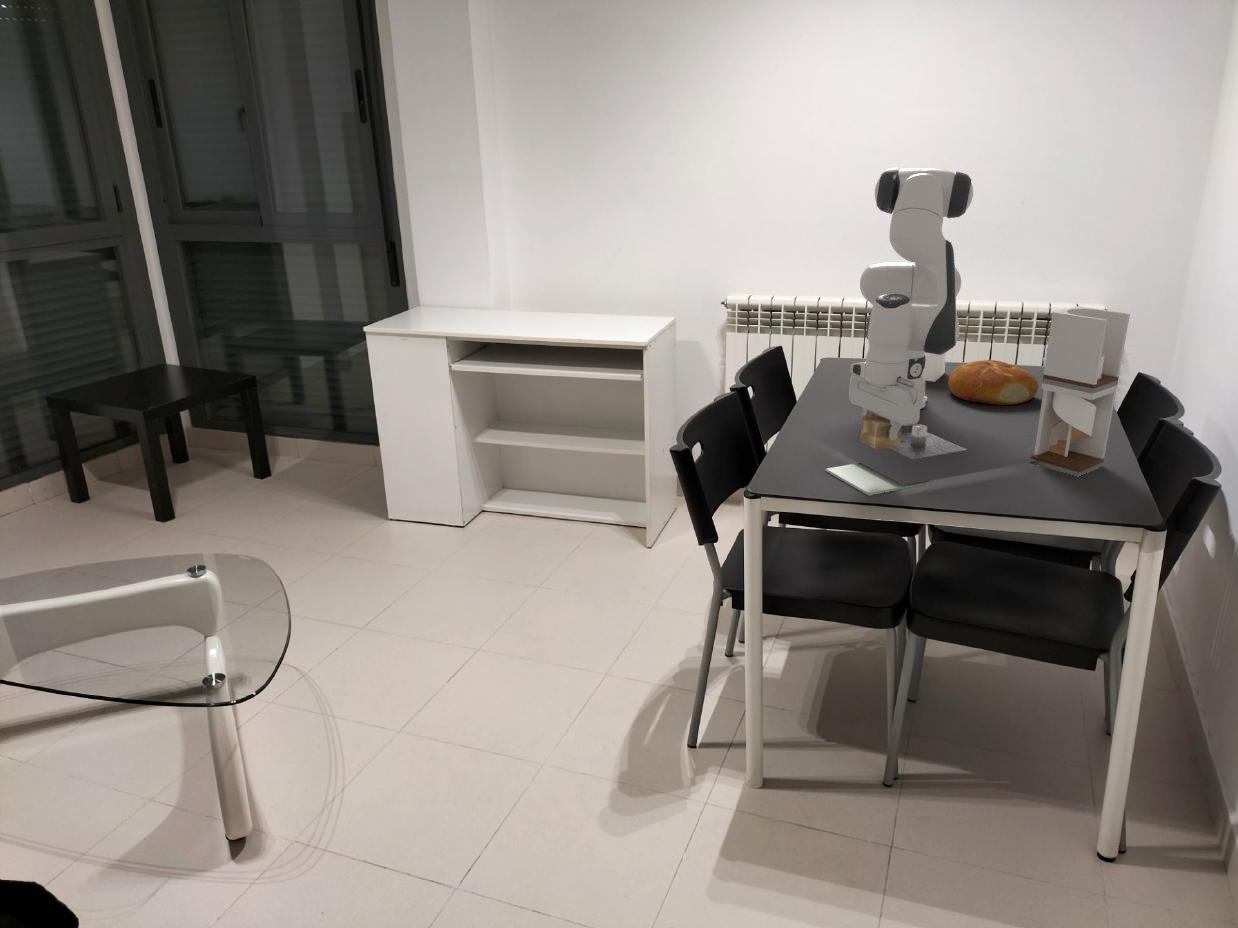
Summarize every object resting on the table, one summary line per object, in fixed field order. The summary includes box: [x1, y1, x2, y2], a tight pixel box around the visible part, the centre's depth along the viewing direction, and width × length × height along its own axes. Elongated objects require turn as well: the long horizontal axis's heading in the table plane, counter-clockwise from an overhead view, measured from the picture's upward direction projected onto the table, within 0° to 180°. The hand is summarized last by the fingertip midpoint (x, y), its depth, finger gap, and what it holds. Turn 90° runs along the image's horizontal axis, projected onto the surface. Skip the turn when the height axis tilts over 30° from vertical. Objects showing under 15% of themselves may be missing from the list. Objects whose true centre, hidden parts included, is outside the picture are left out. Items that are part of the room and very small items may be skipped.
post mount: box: [889, 423, 968, 460], centre depth 220 cm, size 16×16×6 cm
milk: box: [912, 304, 947, 383], centre depth 281 cm, size 12×12×26 cm
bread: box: [947, 359, 1039, 406], centre depth 261 cm, size 23×23×10 cm
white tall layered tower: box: [1029, 305, 1131, 477], centre depth 204 cm, size 11×11×35 cm
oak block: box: [859, 413, 903, 451], centre depth 201 cm, size 6×6×6 cm
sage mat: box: [825, 462, 931, 497], centre depth 205 cm, size 16×16×1 cm
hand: (880, 433), depth 201 cm, fingers closed on oak block, 6 cm apart
